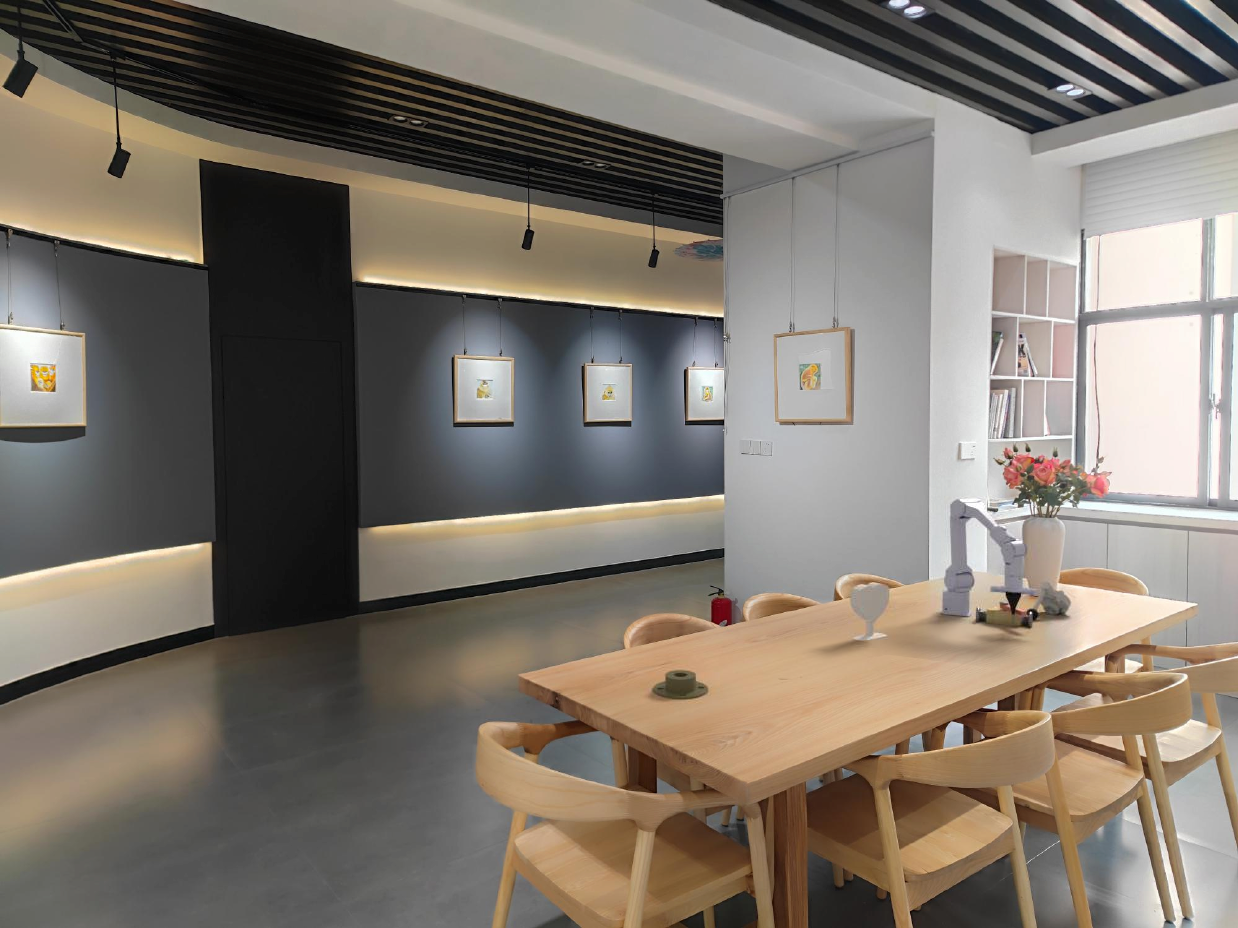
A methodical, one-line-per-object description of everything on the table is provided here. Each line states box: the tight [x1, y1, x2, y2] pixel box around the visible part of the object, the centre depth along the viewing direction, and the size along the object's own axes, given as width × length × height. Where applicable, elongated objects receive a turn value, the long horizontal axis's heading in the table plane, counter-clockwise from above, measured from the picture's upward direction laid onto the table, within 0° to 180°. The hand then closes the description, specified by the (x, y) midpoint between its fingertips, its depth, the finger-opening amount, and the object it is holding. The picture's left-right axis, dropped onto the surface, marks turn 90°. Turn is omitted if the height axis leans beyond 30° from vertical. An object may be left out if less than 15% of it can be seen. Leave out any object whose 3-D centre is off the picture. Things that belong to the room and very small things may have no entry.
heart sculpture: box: [849, 581, 890, 642], centre depth 274 cm, size 16×5×18 cm, turn 122°
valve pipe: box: [975, 606, 1034, 628], centre depth 290 cm, size 18×6×6 cm, turn 60°
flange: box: [653, 669, 709, 700], centre depth 223 cm, size 5×15×15 cm
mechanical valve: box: [1026, 581, 1072, 621], centre depth 299 cm, size 10×18×15 cm
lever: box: [999, 601, 1027, 616], centre depth 285 cm, size 13×3×2 cm, turn 8°
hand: (1013, 614), depth 281 cm, fingers closed
